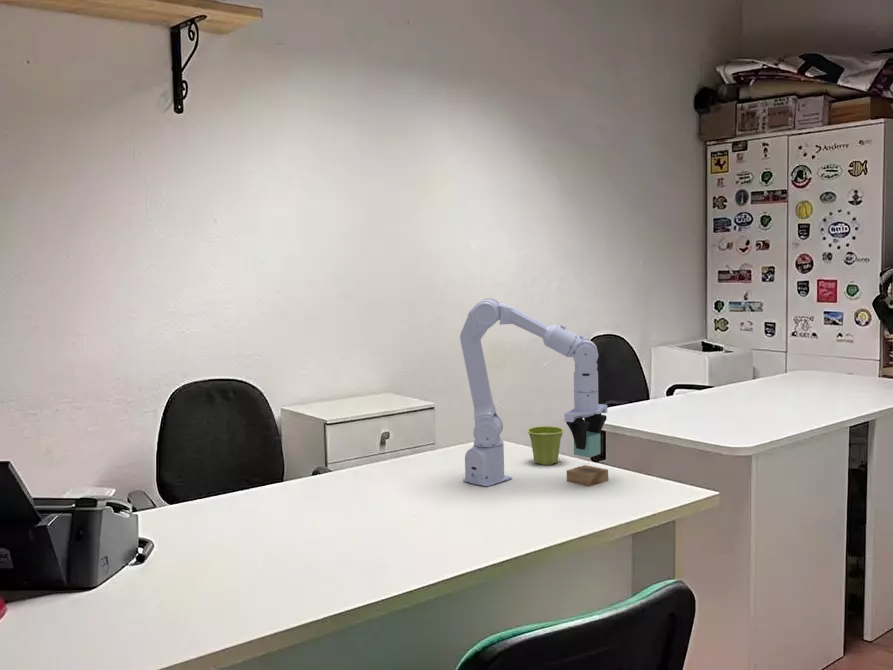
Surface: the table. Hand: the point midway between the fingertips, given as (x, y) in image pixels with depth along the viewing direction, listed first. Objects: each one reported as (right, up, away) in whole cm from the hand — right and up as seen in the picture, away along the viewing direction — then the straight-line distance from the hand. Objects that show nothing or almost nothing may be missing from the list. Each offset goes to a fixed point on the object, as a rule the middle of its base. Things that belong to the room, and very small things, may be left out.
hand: (586, 446), depth 215 cm
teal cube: (0, -2, 0) cm, 2 cm away
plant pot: (-8, -7, +20) cm, 22 cm away
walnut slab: (0, -9, +1) cm, 9 cm away
